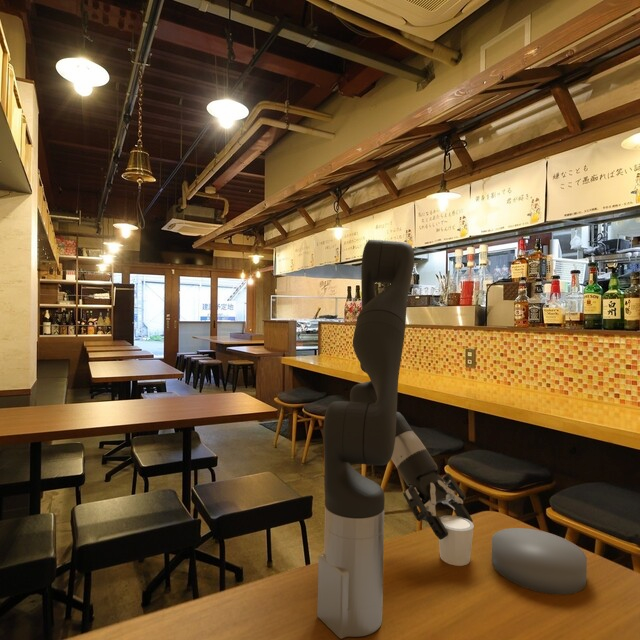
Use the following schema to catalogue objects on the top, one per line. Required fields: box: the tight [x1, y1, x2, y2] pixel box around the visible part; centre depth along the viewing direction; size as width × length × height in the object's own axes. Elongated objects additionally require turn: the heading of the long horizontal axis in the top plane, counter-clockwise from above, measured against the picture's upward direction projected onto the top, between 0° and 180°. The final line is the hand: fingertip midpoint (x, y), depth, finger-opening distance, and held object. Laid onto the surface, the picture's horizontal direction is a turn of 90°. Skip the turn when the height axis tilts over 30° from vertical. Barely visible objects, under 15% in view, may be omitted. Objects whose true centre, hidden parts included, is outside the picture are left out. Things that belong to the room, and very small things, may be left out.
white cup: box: [438, 515, 475, 567], centre depth 88 cm, size 7×7×7 cm
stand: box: [491, 527, 588, 596], centre depth 85 cm, size 16×16×4 cm
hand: (457, 530), depth 88 cm, fingers open, 8 cm apart
